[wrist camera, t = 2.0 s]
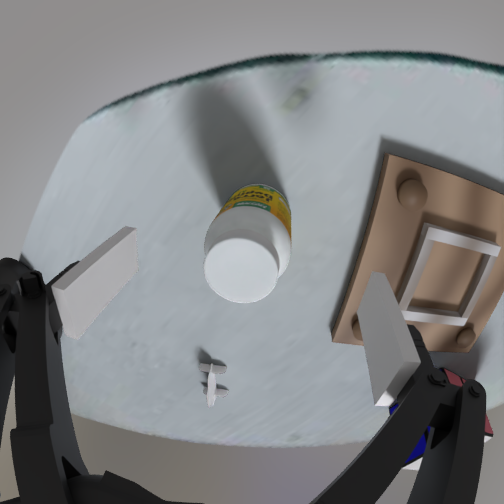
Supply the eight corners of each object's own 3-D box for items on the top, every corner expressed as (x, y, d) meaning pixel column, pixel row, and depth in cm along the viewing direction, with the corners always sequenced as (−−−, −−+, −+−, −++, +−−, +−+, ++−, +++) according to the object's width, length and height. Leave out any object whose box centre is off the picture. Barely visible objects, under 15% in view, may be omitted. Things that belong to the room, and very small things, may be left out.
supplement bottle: (237, 250, 26) (210, 320, 17) (217, 192, 24) (174, 239, 15) (299, 236, 25) (301, 304, 16) (281, 174, 22) (274, 212, 14)
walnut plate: (331, 334, 29) (333, 349, 27) (384, 152, 20) (393, 156, 19) (465, 346, 28) (471, 358, 26) (528, 206, 19) (540, 214, 18)
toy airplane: (185, 351, 33) (173, 379, 29) (241, 358, 32) (234, 388, 28) (199, 417, 40) (192, 441, 36) (243, 424, 39) (238, 448, 35)
